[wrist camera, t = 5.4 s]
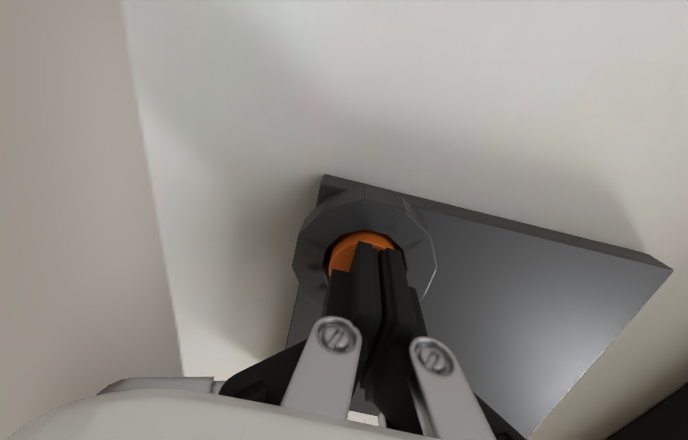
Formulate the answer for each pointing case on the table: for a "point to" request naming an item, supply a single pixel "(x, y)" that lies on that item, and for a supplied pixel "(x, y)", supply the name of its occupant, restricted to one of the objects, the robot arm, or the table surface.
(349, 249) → the button
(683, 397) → the external hard drive
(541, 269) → the scale
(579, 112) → the table surface
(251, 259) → the table surface
